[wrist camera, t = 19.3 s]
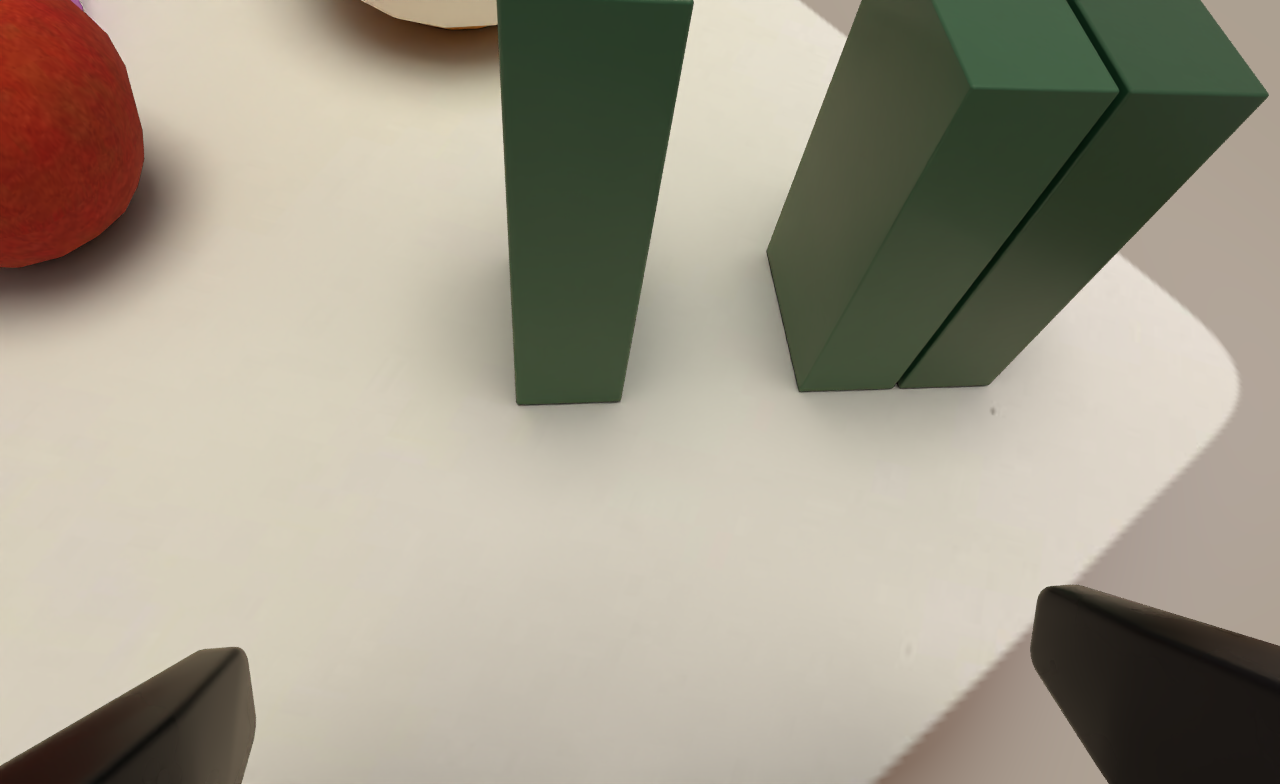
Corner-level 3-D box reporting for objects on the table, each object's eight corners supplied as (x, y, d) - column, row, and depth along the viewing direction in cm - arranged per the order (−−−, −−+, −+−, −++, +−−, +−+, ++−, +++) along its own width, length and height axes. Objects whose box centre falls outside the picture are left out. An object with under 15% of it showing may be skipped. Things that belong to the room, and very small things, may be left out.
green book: (621, 402, 23) (694, 1, 12) (516, 405, 22) (496, -8, 12) (606, 254, 25) (656, -181, 15) (512, 255, 25) (492, -193, 14)
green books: (989, 386, 24) (1271, 95, 15) (798, 392, 24) (971, 86, 14) (938, 249, 27) (1151, -70, 18) (765, 250, 26) (893, -86, 17)
